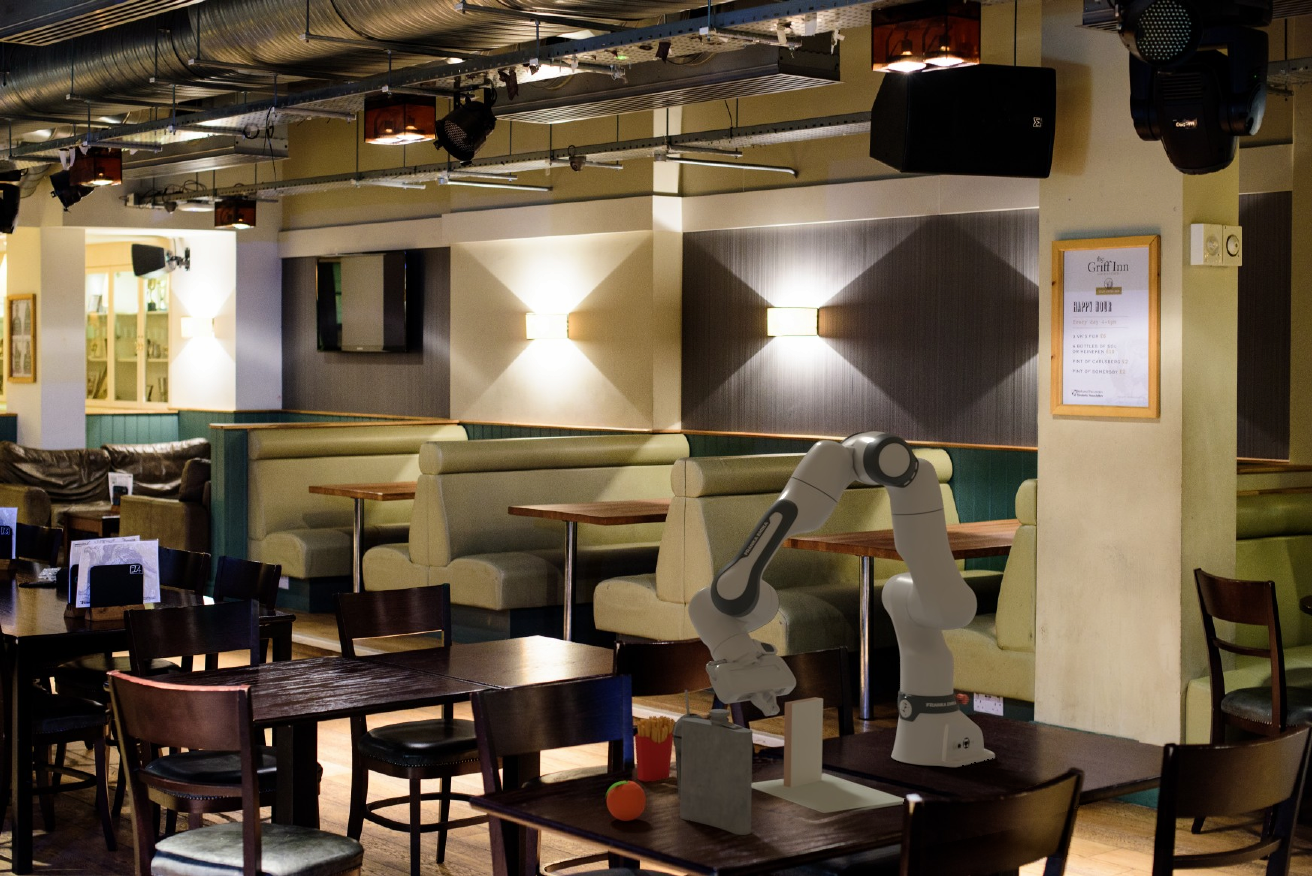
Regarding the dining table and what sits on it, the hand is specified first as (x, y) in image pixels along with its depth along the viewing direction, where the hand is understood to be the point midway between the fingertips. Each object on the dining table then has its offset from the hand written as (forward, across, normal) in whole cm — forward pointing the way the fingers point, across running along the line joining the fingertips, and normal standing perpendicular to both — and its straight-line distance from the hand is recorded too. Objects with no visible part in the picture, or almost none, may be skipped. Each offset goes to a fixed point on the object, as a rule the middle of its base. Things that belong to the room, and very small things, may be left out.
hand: (773, 713), depth 303 cm
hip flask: (+22, -33, -3) cm, 40 cm away
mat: (+20, -2, -2) cm, 20 cm away
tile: (+14, 0, +3) cm, 15 cm away
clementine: (+13, -44, +6) cm, 46 cm away
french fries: (-1, -18, +20) cm, 27 cm away
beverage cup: (+9, -23, +10) cm, 26 cm away
